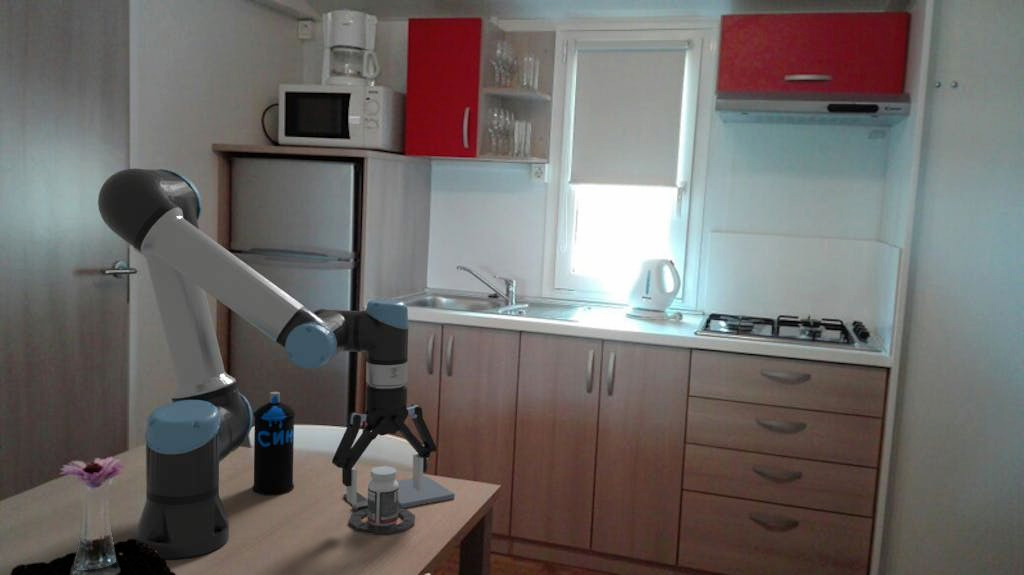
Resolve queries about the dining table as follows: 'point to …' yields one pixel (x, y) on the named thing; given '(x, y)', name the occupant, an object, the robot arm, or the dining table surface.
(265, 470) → the aerosol can
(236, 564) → the dining table surface
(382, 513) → the pill bottle
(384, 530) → the iron eye
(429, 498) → the slate trivet
